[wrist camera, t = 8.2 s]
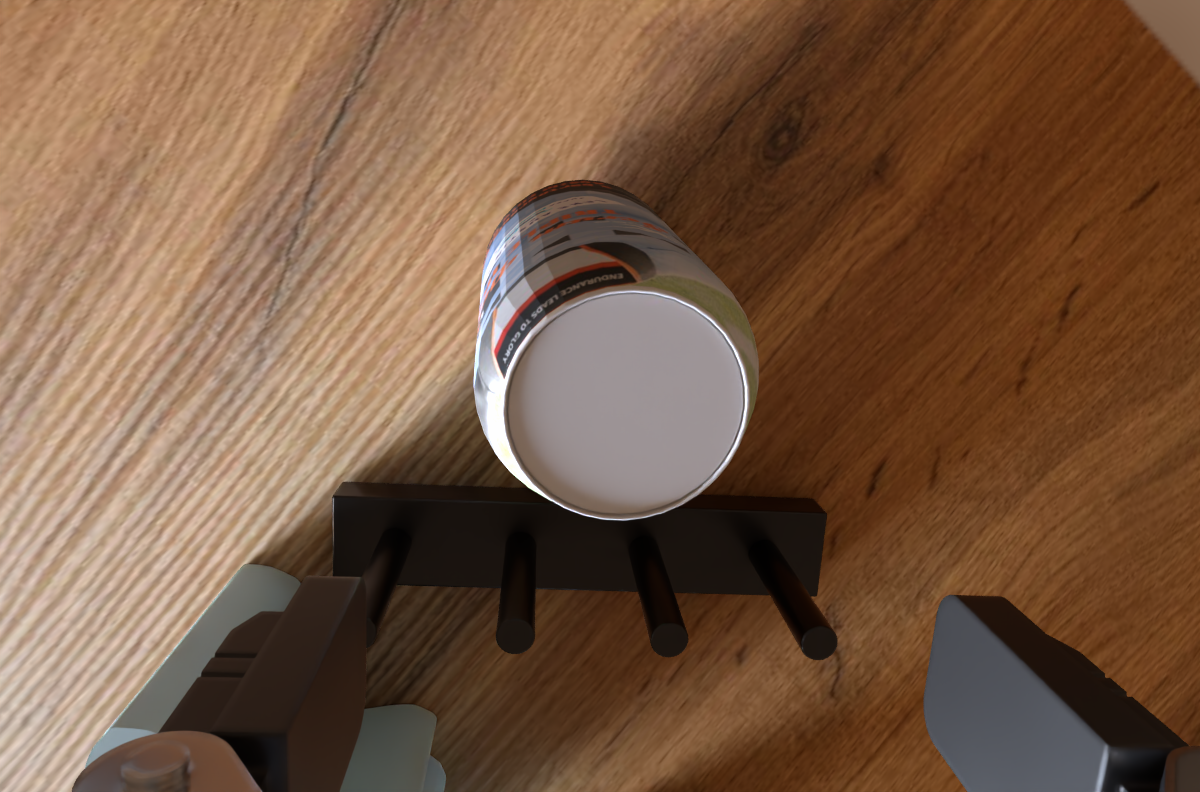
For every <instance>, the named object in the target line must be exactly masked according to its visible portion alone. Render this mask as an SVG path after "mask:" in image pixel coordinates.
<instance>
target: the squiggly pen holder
mask: <svg viewBox="0 0 1200 792" xmlns="http://www.w3.org/2000/svg"><path fill="white" fill-rule="evenodd" d="M300 585H301V583H300V582H299V581H298V580H297V578H295V577H293V576H291V575H289V574H287V573H285V572H283V571H280V570H278V569H275V568H273V567H270V566H264V565H255V564H245V565H243V566H242V567H241V568H240V569H239V570H238V571H237V573H236V574H235V575H234V576H233V577H232V579H231V580H230V581H229V582H228V583H227V585H226V586H225V587H224V588H223V590H222V591H221V592H220V593H219V594H218V596H217V597H216V598H215V599H214V601H213V602H212V603H211V604H210V605H209V607H208V608H207V609H206V610H205V612H204V613H203V614H202V615H201V616H200V618H199V619H198V620H197V621H196V623H195V624H194V625H193V626H192V627H191V629H190V630H189V631H188V632H187V634H186V635H185V636H184V637H183V638H182V640H181V641H180V642H179V643H178V645H177V646H176V647H175V648H174V649H173V651H172V652H171V653H170V654H169V656H168V657H167V658H166V659H165V660H164V662H163V663H162V664H161V665H160V667H159V668H158V669H157V670H156V671H155V673H154V674H153V675H152V676H151V678H150V679H149V680H148V681H147V682H146V684H145V685H144V686H143V687H142V689H141V690H140V691H139V692H138V693H137V695H136V696H135V697H134V698H133V700H132V701H131V702H130V703H129V704H128V706H127V707H126V708H125V709H124V710H123V712H122V713H121V714H120V715H119V717H118V718H117V719H116V720H115V721H114V723H113V724H112V725H111V726H110V728H109V729H108V730H107V731H106V732H105V734H104V735H103V736H102V737H101V739H100V740H99V741H98V742H97V743H96V745H95V746H94V747H93V748H92V750H91V753H90V755H89V757H88V760H87V763H86V766H85V768H86V767H87V766H88V765H89V764H90V763H92V762H93V761H94V760H96V759H97V758H98V757H100V756H101V755H103V754H104V753H106V752H108V751H109V750H111V749H113V748H115V747H117V746H119V745H121V744H124V743H126V742H129V741H132V740H134V739H137V738H140V737H144V736H148V735H152V734H157V733H158V732H159V731H160V729H161V728H162V726H163V725H164V724H165V722H166V721H167V719H168V718H169V717H170V715H171V714H172V712H173V711H174V710H175V708H176V707H177V705H178V704H179V703H180V701H181V700H182V698H183V697H184V696H185V694H186V693H187V691H188V690H189V689H190V687H191V686H192V684H193V683H194V682H195V680H196V679H197V677H201V672H202V670H203V669H204V668H205V666H206V665H207V663H208V662H209V661H210V659H211V658H212V657H213V658H214V657H215V652H216V651H217V649H218V648H219V646H220V645H221V644H222V642H223V641H224V639H225V638H226V637H227V635H228V634H229V632H230V631H231V630H232V629H234V628H235V627H237V626H239V625H240V624H242V623H243V622H245V621H247V620H248V619H250V618H251V617H253V616H254V615H256V614H258V613H259V612H261V611H276V612H284V610H285V609H286V607H287V606H288V604H289V602H290V601H291V599H292V597H293V596H294V594H295V593H296V591H297V589H298V588H299V586H300ZM436 722H437V717H436V716H435V714H434V713H433V712H431V711H429V710H426V709H424V708H422V707H419V706H417V705H410V704H402V705H390V706H382V707H375V708H368V709H364V714H363V720H362V725H361V729H360V733H359V736H358V739H357V742H356V745H355V748H354V751H353V754H352V757H351V760H350V763H349V765H348V768H347V771H346V774H345V777H344V780H343V783H342V786H341V789H340V792H444V789H445V783H446V776H445V773H444V770H443V768H442V765H441V763H440V762H439V761H437V760H436V759H435V758H434V757H432V756H431V755H430V752H431V747H432V742H433V737H434V732H435V727H436Z"/></svg>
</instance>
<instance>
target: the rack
mask: <svg viewBox="0 0 1200 792" xmlns="http://www.w3.org/2000/svg"><path fill="white" fill-rule="evenodd" d="M826 519H827V513H826V512H825V511H824V510H823V509H822V507H821V506H820V505H819V504H818V503H817V502H816V501H815V500H814V499H808V498H780V497H752V496H724V495H697V496H695V497H694V498H692V499H691V500H689V501H687V502H686V503H684V504H683V505H680V506H678V507H676V508H673V509H671V510H669V511H667V512H664V513H661V514H657V515H653V516H650V517H646V518H639V519H630V520H607V519H599V518H594V517H589V516H585V515H581V514H579V513H576V512H573V511H571V510H568V509H566V508H564V507H562V506H560V505H558V504H557V503H555V502H553V501H551V500H549V499H547V498H545V497H543V496H542V495H540V494H538V493H537V492H535V491H533V490H532V489H529V488H501V487H473V486H445V485H417V484H389V483H361V482H343V483H342V484H341V485H340V487H339V488H338V489H337V491H336V492H335V494H334V495H333V497H332V539H333V576H334V577H363V578H364V580H365V585H366V648H368V647H370V646H371V645H372V644H373V643H374V642H375V640H376V638H377V635H378V633H379V630H380V627H381V625H382V622H383V619H384V617H385V614H386V611H387V609H388V606H389V603H390V601H391V598H392V595H393V593H394V590H395V588H396V585H408V586H445V587H482V588H501V592H500V602H499V611H498V621H497V630H496V641H497V643H498V645H499V647H500V648H501V649H502V650H504V651H505V652H507V653H511V654H520V653H523V652H525V651H527V650H528V649H529V648H530V647H531V646H532V644H533V642H534V639H535V601H536V589H556V590H592V591H629V592H638V594H639V598H640V602H641V606H642V610H643V614H644V619H645V623H646V627H647V631H648V635H649V639H650V643H651V646H652V648H653V650H654V651H655V652H656V653H657V654H659V655H661V656H663V657H674V656H677V655H679V654H680V653H682V652H683V651H684V649H685V648H686V646H687V644H688V634H687V630H686V627H685V624H684V621H683V618H682V616H681V613H680V610H679V607H678V604H677V601H676V598H675V595H674V593H703V594H740V595H770V596H771V598H772V600H773V601H774V603H775V605H776V607H777V608H778V610H779V612H780V614H781V615H782V617H783V619H784V621H785V622H786V624H787V626H788V628H789V629H790V631H791V633H792V635H793V636H794V638H795V640H796V642H797V643H798V645H799V647H800V648H801V650H802V652H803V653H804V655H805V656H807V657H808V658H810V659H813V660H823V659H826V658H828V657H829V656H831V655H832V654H833V653H834V651H835V649H836V647H837V636H836V633H835V632H834V630H833V629H832V627H831V626H830V624H829V623H828V621H827V620H826V618H825V617H824V616H823V614H822V613H821V611H820V610H819V608H818V607H817V605H816V604H815V602H814V601H813V599H812V598H811V596H814V597H815V596H817V592H818V584H819V576H820V568H821V559H822V551H823V543H824V535H825V527H826Z"/></svg>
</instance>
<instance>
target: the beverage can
mask: <svg viewBox="0 0 1200 792" xmlns="http://www.w3.org/2000/svg"><path fill="white" fill-rule="evenodd" d="M758 385H759V360H758V354H757V349H756V343H755V338H754V335H753V332H752V329H751V327H750V324H749V322H748V319H747V317H746V314H745V312H744V311H743V309H742V308H741V306H740V304H739V303H738V301H737V300H736V298H735V296H734V295H733V293H732V292H731V291H730V290H729V289H728V288H727V287H726V286H725V285H724V283H723V282H722V281H721V280H720V279H719V278H718V277H717V276H716V275H715V274H714V273H713V272H712V271H711V270H710V269H709V268H708V267H707V266H706V265H705V264H704V263H703V262H702V260H701V259H700V258H699V257H698V256H697V255H696V254H695V253H694V252H693V251H692V250H691V249H690V248H689V247H688V246H687V245H686V244H685V243H684V242H683V241H682V240H681V239H680V238H679V237H678V236H677V235H676V234H675V233H674V232H673V231H672V230H671V229H670V228H669V227H668V226H667V224H666V223H665V222H664V221H663V220H662V219H661V218H660V217H659V216H658V215H657V214H656V213H655V212H654V211H653V210H652V209H651V208H650V207H649V206H648V205H647V204H646V203H644V202H643V201H642V200H640V199H639V198H638V197H636V196H635V195H634V194H632V193H630V192H628V191H626V190H624V189H622V188H620V187H618V186H614V185H611V184H607V183H604V182H600V181H590V180H575V181H564V182H561V183H557V184H553V185H549V186H547V187H544V188H542V189H540V190H538V191H536V192H534V193H532V194H530V195H529V196H527V197H526V198H525V199H523V200H522V201H520V202H519V203H517V204H516V205H515V206H514V207H513V208H512V209H511V210H510V212H509V213H508V214H507V215H506V216H505V217H504V218H503V220H502V221H501V223H500V224H499V225H498V227H497V228H496V230H495V232H494V234H493V236H492V238H491V241H490V243H489V245H488V248H487V252H486V256H485V260H484V265H483V276H482V287H481V299H480V310H479V322H478V333H477V345H476V356H475V370H474V393H475V401H476V408H477V413H478V416H479V419H480V422H481V425H482V428H483V431H484V433H485V435H486V437H487V439H488V441H489V443H490V444H491V446H492V448H493V450H494V452H495V454H496V455H497V456H498V457H499V459H500V460H501V461H502V462H503V464H504V465H505V466H506V467H507V468H508V470H509V471H510V472H511V473H512V474H513V475H514V476H515V477H517V478H518V479H519V480H520V481H521V482H523V483H524V484H525V485H526V486H527V487H528V488H530V489H532V490H533V491H535V492H537V493H538V494H540V495H542V496H543V497H545V498H547V499H549V500H551V501H553V502H555V503H557V504H558V505H560V506H562V507H564V508H566V509H568V510H571V511H573V512H576V513H579V514H581V515H585V516H589V517H594V518H599V519H607V520H630V519H639V518H646V517H650V516H653V515H657V514H661V513H664V512H667V511H669V510H671V509H673V508H676V507H678V506H680V505H683V504H684V503H686V502H687V501H689V500H691V499H692V498H694V497H695V496H697V495H698V494H700V493H701V492H702V491H704V490H705V489H706V488H707V487H708V486H709V485H710V484H711V483H713V482H714V481H715V480H716V479H717V478H718V476H719V475H720V474H721V473H722V472H723V470H724V469H725V468H726V467H727V466H728V464H729V463H730V461H731V459H732V458H733V456H734V454H735V453H736V451H737V449H738V447H739V445H740V443H741V440H742V437H743V435H744V433H745V431H746V429H747V426H748V423H749V421H750V418H751V415H752V413H753V410H754V407H755V402H756V396H757V391H758Z"/></svg>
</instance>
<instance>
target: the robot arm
mask: <svg viewBox="0 0 1200 792" xmlns="http://www.w3.org/2000/svg"><path fill="white" fill-rule="evenodd" d="M365 698H366V585H365V580H364V578H363V577H334V576H306V577H305V578H304V580H303V581H302V583H301V585H300V586H299V588H298V589H297V591H296V593H295V594H294V596H293V597H292V599H291V601H290V602H289V604H288V606H287V607H286V609H285V610H284V612H276V611H261V612H259V613H258V614H256V615H254V616H253V617H251V618H250V619H248V620H247V621H245V622H243V623H242V624H240V625H239V626H237V627H235V628H234V629H232V630H231V631H230V632H229V634H228V635H227V637H226V638H225V639H224V641H223V642H222V644H221V645H220V646H219V648H218V649H217V651H216V652H215V657H214V658H213V657H212V658H211V659H210V661H209V662H208V663H207V665H206V666H205V668H204V669H203V670H202V672H201V677H197V679H196V680H195V682H194V683H193V684H192V686H191V687H190V689H189V690H188V691H187V693H186V694H185V696H184V697H183V698H182V700H181V701H180V703H179V704H178V705H177V707H176V708H175V710H174V711H173V712H172V714H171V715H170V717H169V718H168V719H167V721H166V722H165V724H164V725H163V726H162V728H161V729H160V731H159V732H158V733H157V734H152V735H148V736H144V737H140V738H137V739H134V740H132V741H129V742H126V743H124V744H121V745H119V746H117V747H115V748H113V749H111V750H109V751H108V752H106V753H104V754H103V755H101V756H100V757H98V758H97V759H96V760H94V761H93V762H92V763H90V764H89V765H88V766H87V767H86V768H85V769H84V770H83V771H82V772H81V774H80V775H79V777H78V778H77V779H76V781H75V783H74V786H73V788H72V792H340V789H341V786H342V783H343V780H344V777H345V774H346V771H347V768H348V765H349V763H350V760H351V757H352V754H353V751H354V748H355V745H356V742H357V739H358V736H359V733H360V729H361V725H362V720H363V714H364V707H365ZM924 716H925V722H926V726H927V730H928V733H929V736H930V738H931V740H932V742H933V743H934V745H935V747H936V748H937V749H938V751H939V752H940V754H941V755H942V756H943V758H944V759H945V761H946V762H947V763H948V765H949V766H950V768H951V769H952V770H953V772H954V773H955V775H956V776H957V778H958V779H959V780H960V782H961V783H962V785H963V786H964V787H965V789H966V790H967V792H1200V746H1189V745H1188V744H1187V743H1186V742H1184V741H1183V740H1182V739H1181V738H1180V737H1179V736H1177V735H1176V734H1175V733H1174V732H1173V731H1171V730H1170V729H1169V728H1168V727H1167V726H1166V725H1164V724H1163V723H1162V722H1161V721H1160V720H1159V719H1157V718H1156V717H1155V716H1154V715H1153V714H1152V713H1150V712H1149V711H1148V710H1147V709H1146V708H1145V707H1143V706H1142V705H1141V704H1140V703H1139V702H1138V701H1136V700H1135V699H1134V698H1133V697H1127V692H1126V691H1125V690H1124V689H1122V688H1121V687H1120V686H1119V685H1118V684H1117V683H1115V682H1114V681H1113V680H1112V679H1111V678H1106V677H1105V673H1104V672H1103V671H1101V670H1100V669H1099V668H1098V667H1097V666H1096V665H1094V664H1093V663H1092V662H1091V661H1090V660H1089V659H1087V658H1086V657H1085V656H1084V655H1083V654H1082V653H1080V652H1079V651H1077V650H1075V649H1074V648H1072V647H1070V646H1068V645H1066V644H1064V643H1062V642H1060V641H1058V640H1057V639H1055V638H1053V637H1051V636H1049V635H1047V634H1046V633H1045V632H1043V631H1042V630H1041V629H1040V628H1039V627H1038V626H1037V625H1035V624H1034V623H1033V622H1032V621H1031V620H1030V619H1029V618H1028V617H1026V616H1025V615H1024V614H1023V613H1022V612H1021V611H1020V610H1018V609H1017V608H1016V607H1015V606H1014V605H1013V604H1012V603H1010V602H1009V601H1008V600H1007V599H1005V598H1004V597H1001V596H967V595H948V596H946V597H945V598H943V600H942V601H941V603H940V605H939V608H938V611H937V616H936V623H935V629H934V635H933V641H932V648H931V654H930V660H929V667H928V673H927V679H926V685H925V692H924Z"/></svg>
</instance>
